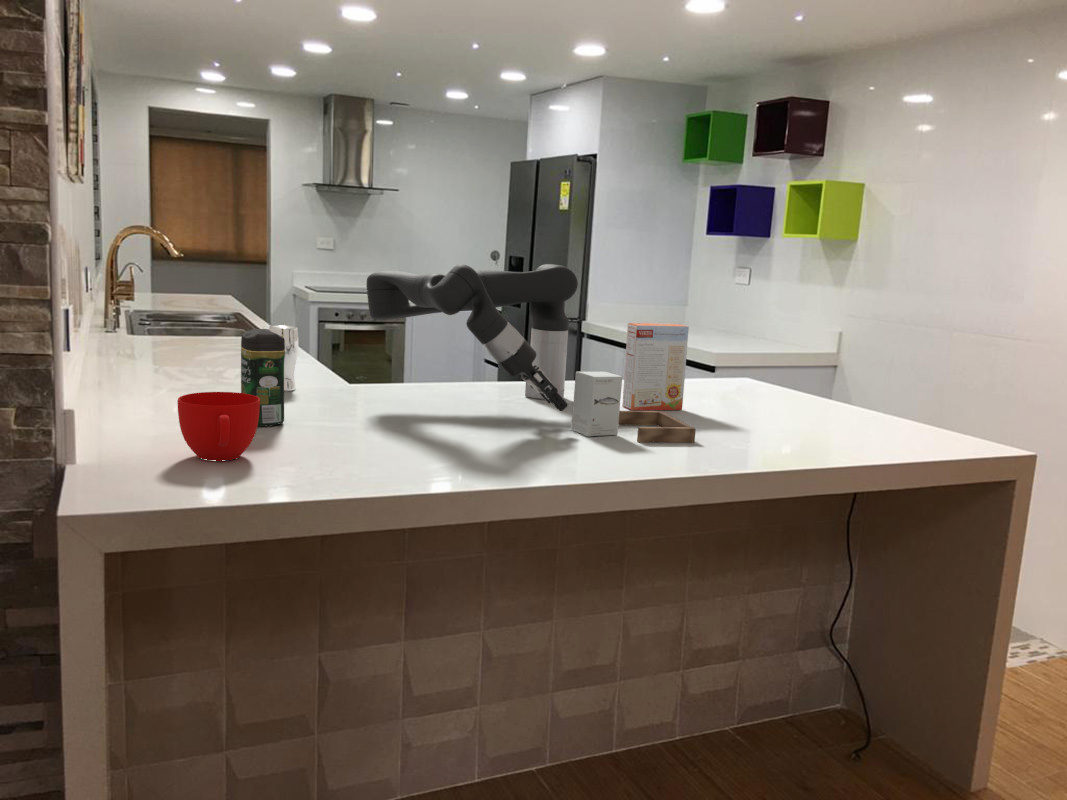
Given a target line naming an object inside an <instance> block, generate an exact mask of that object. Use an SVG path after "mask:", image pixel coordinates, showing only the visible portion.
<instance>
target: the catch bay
mask: <svg viewBox="0 0 1067 800" xmlns="http://www.w3.org/2000/svg"><path fill="white" fill-rule="evenodd" d="M618 426H638V427H637V439H636V442H638V443H640V444H642V443H643V444H644V443H645V444H646V443H650V444H651V443H660V444H661V443H663V444H664V443H665V444H666V443H667V444H668V443H670V444H672V443H673V444H678V443H679V444H685V443H686V444H690V443H691V444H692V443H693V444H695V439H696V430H697V428H696V427H694V426H691V425H689V424H688V423H686V422H684V421H682V420H680V419H678V418H676V417H674V416H672V415H670V414H669V413H666V412H665V411H663V410H637V411H632V410H620V411H619V423H618Z"/></svg>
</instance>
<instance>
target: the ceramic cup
mask: <svg viewBox="0 0 1067 800" xmlns="http://www.w3.org/2000/svg"><path fill="white" fill-rule="evenodd" d="M259 410H260V399H259V398H258V397H257V396H254V395H250V394H245V393H241V392H236V391H235V392H234V391H232V392H231V391H203V392H195V393H194V392H193V393H188V394H183V395H181V396H179V397H178V398H177V413H178V423H179V427H180V432H181V434H182V437H183V439H184V441H185V444H187V446H188V447H189V449H190V450H191V451H192V452H193V453H194V454H195V455H196V456H197V458H198V457H199V458H202V459H207V460H216V461H222V460H231V461H233V460H232V459H235V460H237V459H236V458H238V459H240V457H241V455H242V454H243V453H245V451H246V450H247V449H248V448H249V446H250V445H251V443H252V442H253V440H254V438H255V436H256V433H257V430H258V420H259ZM199 458H198V459H199ZM222 462H223V461H222Z"/></svg>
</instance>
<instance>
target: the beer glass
mask: <svg viewBox="0 0 1067 800" xmlns="http://www.w3.org/2000/svg"><path fill="white" fill-rule="evenodd" d="M268 329H269V330H270V331H272V332H274V333H276V334H278V335H280V336H282V337H283V338H284V340H285V358H284V392H293V391H295V390H297V389H296V382H295V381H296V380H295V371H296V364H297V360H298V353H299V331H298V329H299V328H298V326H293V325H269V327H268Z"/></svg>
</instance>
